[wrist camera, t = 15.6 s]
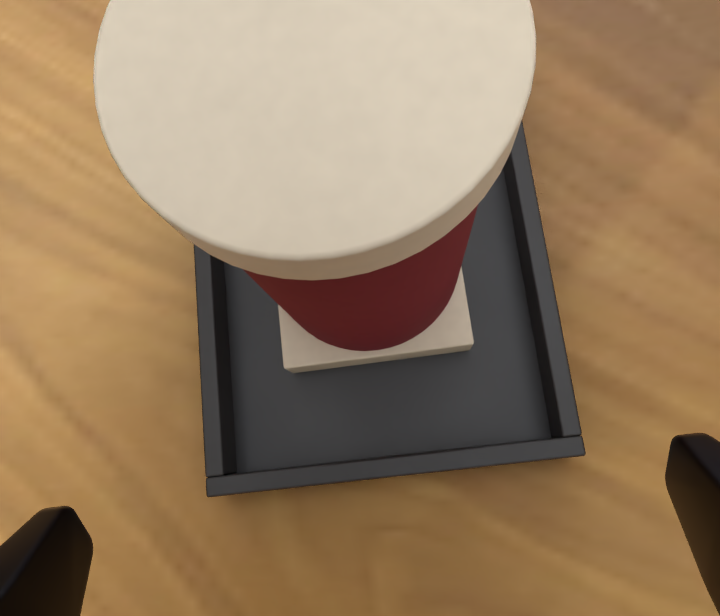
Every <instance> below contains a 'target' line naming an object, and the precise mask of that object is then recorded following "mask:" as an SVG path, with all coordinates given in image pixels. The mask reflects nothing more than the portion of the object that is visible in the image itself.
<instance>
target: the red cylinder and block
mask: <svg viewBox="0 0 720 616" xmlns="http://www.w3.org/2000/svg"><path fill="white" fill-rule="evenodd" d="M535 66H536V32H535V24H534V17H533V10H532V7H531V4H530V0H110V2H109V4H108V6H107V9H106V12H105V15H104V18H103V21H102V24H101V27H100V30H99V35H98V40H97V45H96V50H95V58H94V77H93V82H94V93H95V103H96V109H97V113H98V117H99V121H100V126H101V130H102V133H103V136H104V138H105V141H106V143H107V146H108V148H109V151H110V153H111V155H112V157H113V159H114V161H115V162H116V164H117V166H118V167H119V169H120V171H121V172H122V174H123V176H124V178H125V179H126V180H127V182H128V183H129V184H130V185H131V186H132V188H133V189H134V190H135V191H136V192H137V194H138V195H139V196H140V197H141V199H142V200H143V201H145V202H146V203H147V204H148V205H149V206H150V207H151V208H152V209H153V210H154V211H156V212H157V213H158V214H159V215H160V216H161V217H162V218H163V219H164V220H166V221H167V222H168V223H169V224H170V225H171V226H172V227H174V228H175V229H176V230H177V231H178V232H179V233H181V234H182V235H183V236H184V237H185V238H186V239H187V240H189V241H190V242H192V243H193V244H195V245H196V246H198V247H199V248H201V249H202V250H204V251H205V252H207V253H208V254H210V255H212V256H214V257H216V258H218V259H220V260H222V261H224V262H226V263H228V264H230V265H232V266H235V267H238V268H241V269H243V270H244V271H245V272H246V273H247V274H248V275H249V276H250V277H251V278H252V279H253V280H254V281H255V282H256V283H257V284H258V285H259V286H260V287H261V288H262V289H263V290H264V291H265V292H266V293H267V294H268V295H269V296H270V297H271V298H272V299H273V300H274V301H275V302H276V303H277V304H278V310H279V321H280V332H281V344H282V355H283V366H284V369H286V370H288V371H290V372H292V373H299V372H307V371H314V370H322V369H330V368H338V367H345V366H353V365H361V364H368V363H376V362H384V361H392V360H399V359H407V358H415V357H423V356H430V355H438V354H446V353H454V352H461V351H468V350H470V349H471V347H472V345H473V344H474V340H473V334H472V327H471V321H470V315H469V309H468V303H467V297H466V291H465V285H464V278H463V272H462V266H461V265H462V262H463V258H464V254H465V251H466V247H467V243H468V240H469V236H470V232H471V229H472V225H473V222H474V218H475V214H476V211H477V207H478V204H479V202H480V201H481V200H482V199H483V198H484V197H485V195H486V194H487V192H488V191H489V189H490V188H491V187H492V185H493V184H494V182H495V181H496V179H497V178H498V176H499V175H500V173H501V171H502V169H503V167H504V165H505V163H506V161H507V159H508V157H509V154H510V152H511V150H512V147H513V144H514V141H515V138H516V135H517V132H518V129H519V126H520V124H521V121H522V118H523V115H524V111H525V108H526V105H527V102H528V99H529V96H530V93H531V89H532V83H533V77H534V71H535Z"/></svg>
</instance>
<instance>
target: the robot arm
mask: <svg viewBox="0 0 720 616" xmlns="http://www.w3.org/2000/svg"><path fill="white" fill-rule="evenodd" d="M665 481H666V486H667V490H668V493H669V495H670V498H671V500H672V503H673V505H674V508H675V510H676V513H677V515H678V518H679V520H680V523H681V526H682V528H683V531H684V533H685V536H686V538H687V541H688V543H689V546H690V548H691V551H692V553H693V556H694V558H695V561H696V563H697V566H698V568H699V571H700V573H701V576H702V578H703V581H704V583H705V585H706V588H707V590H708V593H709V595H710V597H711V599H712V601H713V603H714V605H715V607H716V609H717V611H718V613H719V615H720V442H719V441H717V440H716V439H714V438H713V437H711V436H709V435H707V434H704V433H693V434H684V435H677V436H675V437H674V438H673V439H672V442H671V445H670V451H669V456H668V462H667V467H666V473H665ZM92 555H93V543H92V539H91V537H90V535H89V533H88V532H87V530H86V529H85V527H84V525H83V524H82V522H81V520H80V519H79V517H78V515H77V514H76V512H75V511H74V509H72V508H71V507H69V506H60V507H51V508H45V509H42V510H40V511H39V512H38V513H36V514H35V515H34V516H33V517H32V518H31V519H30V520H29V521H27V522H26V523H25V524H24V525H23V526H22V527H21V528H20V529H19V530H18V531H16V532H15V533H14V534H13V535H12V536H11V537H10V538H9V539H8V540H7V541H5V542H4V543H3V544H2V545H1V546H0V616H80V614H81V609H82V604H83V599H84V594H85V589H86V585H87V580H88V575H89V570H90V565H91V560H92Z"/></svg>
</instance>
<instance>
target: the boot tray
mask: <svg viewBox="0 0 720 616" xmlns="http://www.w3.org/2000/svg"><path fill="white" fill-rule="evenodd" d="M194 257H195V276H196V296H197V316H198V335H199V355H200V374H201V394H202V414H203V433H204V453H205V473H206V477H208V478H206V491H207V497H215V496H224V495H233V494H242V493H251V492H261V491H270V490H279V489H288V488H297V487H306V486H315V485H324V484H333V483H342V482H351V481H360V480H369V479H379V478H388V477H397V476H406V475H415V474H424V473H433V472H442V471H451V470H460V469H469V468H478V467H487V466H496V465H506V464H515V463H524V462H533V461H542V460H551V459H560V458H569V457H578V456H584V455H585V448H584V443H583V438H582V436H580V435H581V433H582V432H581V427H580V422H579V416H578V411H577V406H576V401H575V396H574V390H573V385H572V380H571V375H570V369H569V364H568V359H567V354H566V348H565V343H564V338H563V333H562V327H561V322H560V317H559V312H558V306H557V301H556V296H555V291H554V285H553V280H552V275H551V270H550V265H549V259H548V254H547V249H546V244H545V238H544V233H543V228H542V223H541V217H540V212H539V207H538V202H537V196H536V191H535V186H534V181H533V175H532V170H531V165H530V160H529V155H528V149H527V144H526V139H525V134H524V128H523V123H522V121H521V124H520V126H519V129H518V132H517V135H516V138H515V141H514V144H513V147H512V150H511V152H510V154H509V157H508V159H507V161H506V163H505V165H504V167H503V169H502V171H501V173H500V175H499V176H498V178H497V179H496V181H495V182H494V184H493V185H492V187H491V188H490V189H489V191H488V192H487V194H486V195H485V197H484V198H483V199H482V200H481V201H480V202H479V204H478V207H477V211H476V214H475V218H474V222H473V225H472V229H471V232H470V236H469V240H468V243H467V247H466V251H465V254H464V258H463V262H462V265H461V266H462V272H463V278H464V285H465V291H466V297H467V303H468V309H469V315H470V321H471V327H472V334H473V340H474V344H473V345H472V347H471V349H470V350H468V351H461V352H454V353H446V354H438V355H430V356H423V357H415V358H407V359H399V360H392V361H384V362H376V363H368V364H361V365H353V366H345V367H338V368H330V369H322V370H314V371H307V372H299V373H292V372H290V371H288V370H286V369H284V366H283V355H282V344H281V332H280V321H279V310H278V304H277V303H276V302H275V301H274V300H273V299H272V298H271V297H270V296H269V295H268V294H267V293H266V292H265V291H264V290H263V289H262V288H261V287H260V286H259V285H258V284H257V283H256V282H255V281H254V280H253V279H252V278H251V277H250V276H249V275H248V274H247V273H246V272H245V271H244V270H243V269H241V268H238V267H235V266H232V265H230V264H228V263H226V262H224V261H222V260H220V259H218V258H216V257H214V256H212V255H210V254H208V253H207V252H205V251H204V250H202V249H201V248H199V247H198V246H196V245H195V244H194Z"/></svg>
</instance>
